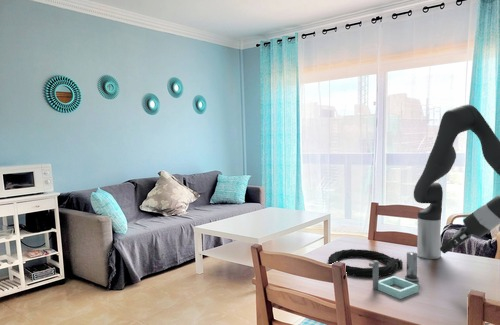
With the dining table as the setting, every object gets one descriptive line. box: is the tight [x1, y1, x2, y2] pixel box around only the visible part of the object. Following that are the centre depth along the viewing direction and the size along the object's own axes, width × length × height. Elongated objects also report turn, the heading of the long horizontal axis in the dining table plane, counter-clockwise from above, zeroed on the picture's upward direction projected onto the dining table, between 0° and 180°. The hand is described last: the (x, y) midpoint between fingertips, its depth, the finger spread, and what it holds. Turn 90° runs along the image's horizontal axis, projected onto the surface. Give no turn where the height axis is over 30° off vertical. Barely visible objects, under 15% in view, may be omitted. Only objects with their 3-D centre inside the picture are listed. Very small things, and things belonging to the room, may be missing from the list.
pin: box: [404, 251, 419, 283], centre depth 136 cm, size 5×5×10 cm
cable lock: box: [327, 248, 404, 278], centre depth 152 cm, size 28×4×30 cm
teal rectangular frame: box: [368, 259, 419, 300], centre depth 127 cm, size 13×11×10 cm
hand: (444, 248), depth 129 cm, fingers open, 8 cm apart
